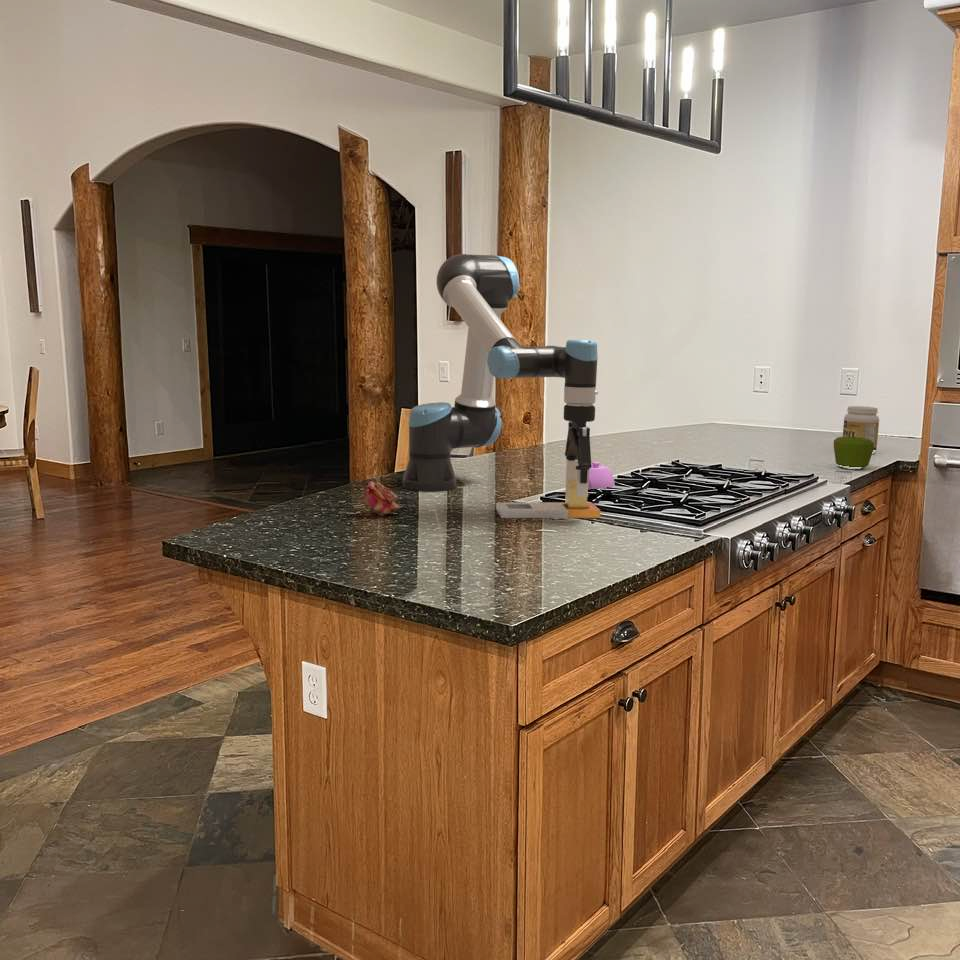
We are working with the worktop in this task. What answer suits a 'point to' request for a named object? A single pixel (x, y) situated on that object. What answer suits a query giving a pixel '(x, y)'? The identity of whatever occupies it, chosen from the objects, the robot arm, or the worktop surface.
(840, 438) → the apple
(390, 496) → the flower
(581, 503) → the brass nut block
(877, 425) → the supplement tub
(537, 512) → the rail
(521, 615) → the worktop surface
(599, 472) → the teapot
